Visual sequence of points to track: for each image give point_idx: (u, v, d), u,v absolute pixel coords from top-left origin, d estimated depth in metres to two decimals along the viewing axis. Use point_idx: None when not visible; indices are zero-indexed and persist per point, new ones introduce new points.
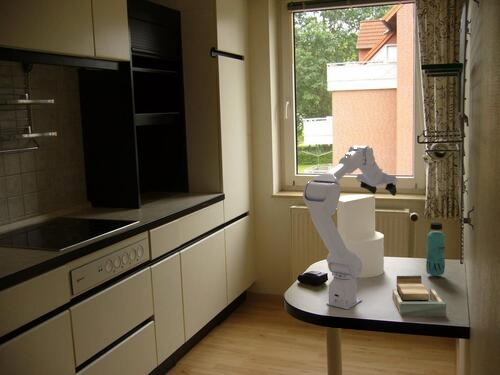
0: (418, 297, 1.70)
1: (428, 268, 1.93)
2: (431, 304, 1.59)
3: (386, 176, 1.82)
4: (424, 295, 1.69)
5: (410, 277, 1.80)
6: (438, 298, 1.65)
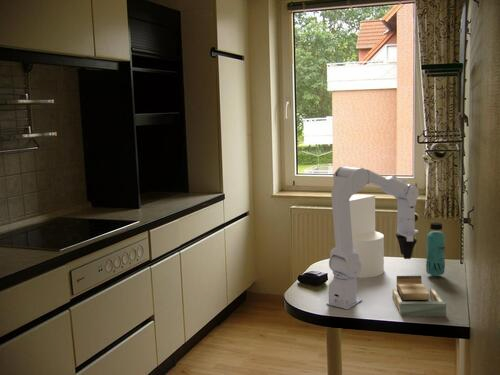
0: (418, 297, 1.70)
1: (428, 268, 1.93)
2: (431, 304, 1.59)
3: (411, 234, 1.80)
4: (424, 295, 1.69)
5: (410, 277, 1.80)
6: (438, 298, 1.65)
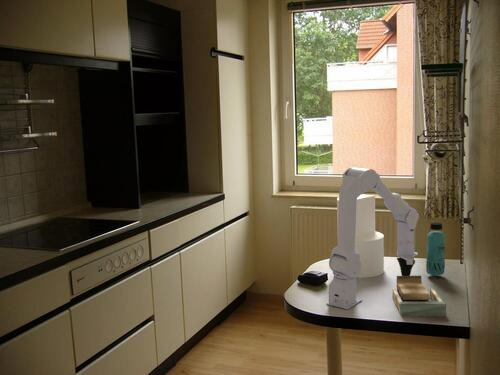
0: (418, 297, 1.70)
1: (428, 268, 1.93)
2: (431, 304, 1.59)
3: (411, 257, 1.82)
4: (424, 295, 1.69)
5: (410, 277, 1.80)
6: (438, 298, 1.65)
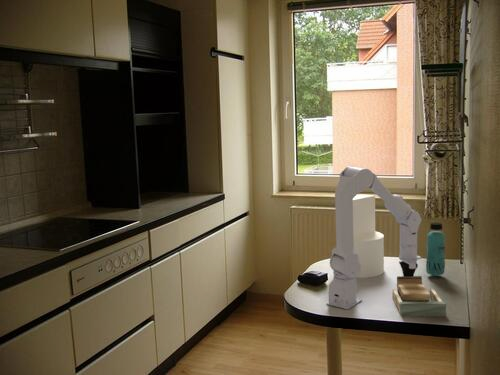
0: (419, 298, 1.69)
1: (428, 268, 1.93)
2: (431, 304, 1.59)
3: (414, 261, 1.77)
4: (425, 296, 1.69)
5: (410, 278, 1.79)
6: (438, 298, 1.65)
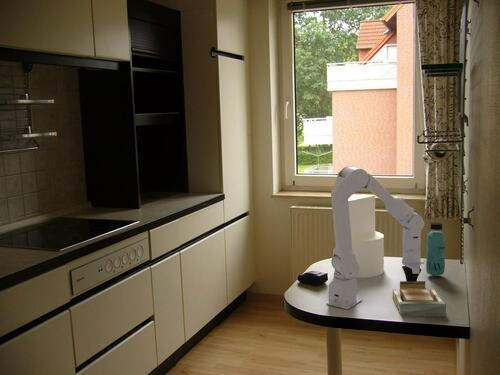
0: None
1: (428, 268, 1.93)
2: (431, 304, 1.59)
3: None
4: None
5: (414, 283, 1.75)
6: (438, 298, 1.65)
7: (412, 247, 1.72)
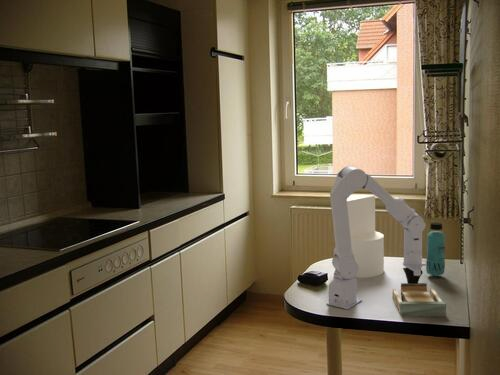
0: None
1: (428, 268, 1.93)
2: (431, 304, 1.59)
3: None
4: None
5: (415, 285, 1.73)
6: (438, 298, 1.65)
7: (413, 249, 1.70)
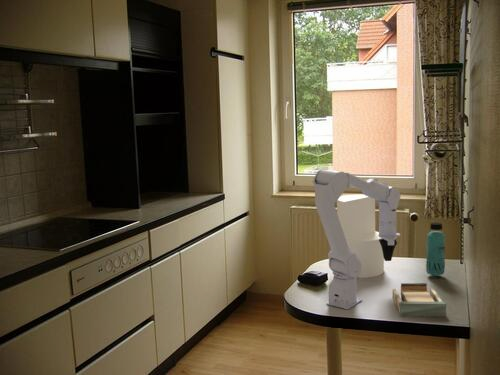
0: None
1: (428, 268, 1.93)
2: (431, 304, 1.59)
3: None
4: None
5: (415, 285, 1.73)
6: (438, 298, 1.65)
7: (391, 220, 1.76)
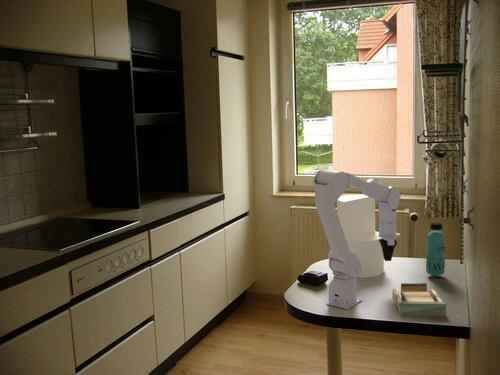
0: None
1: (428, 268, 1.93)
2: (431, 304, 1.59)
3: None
4: None
5: (415, 285, 1.73)
6: (438, 298, 1.65)
7: (391, 220, 1.76)
